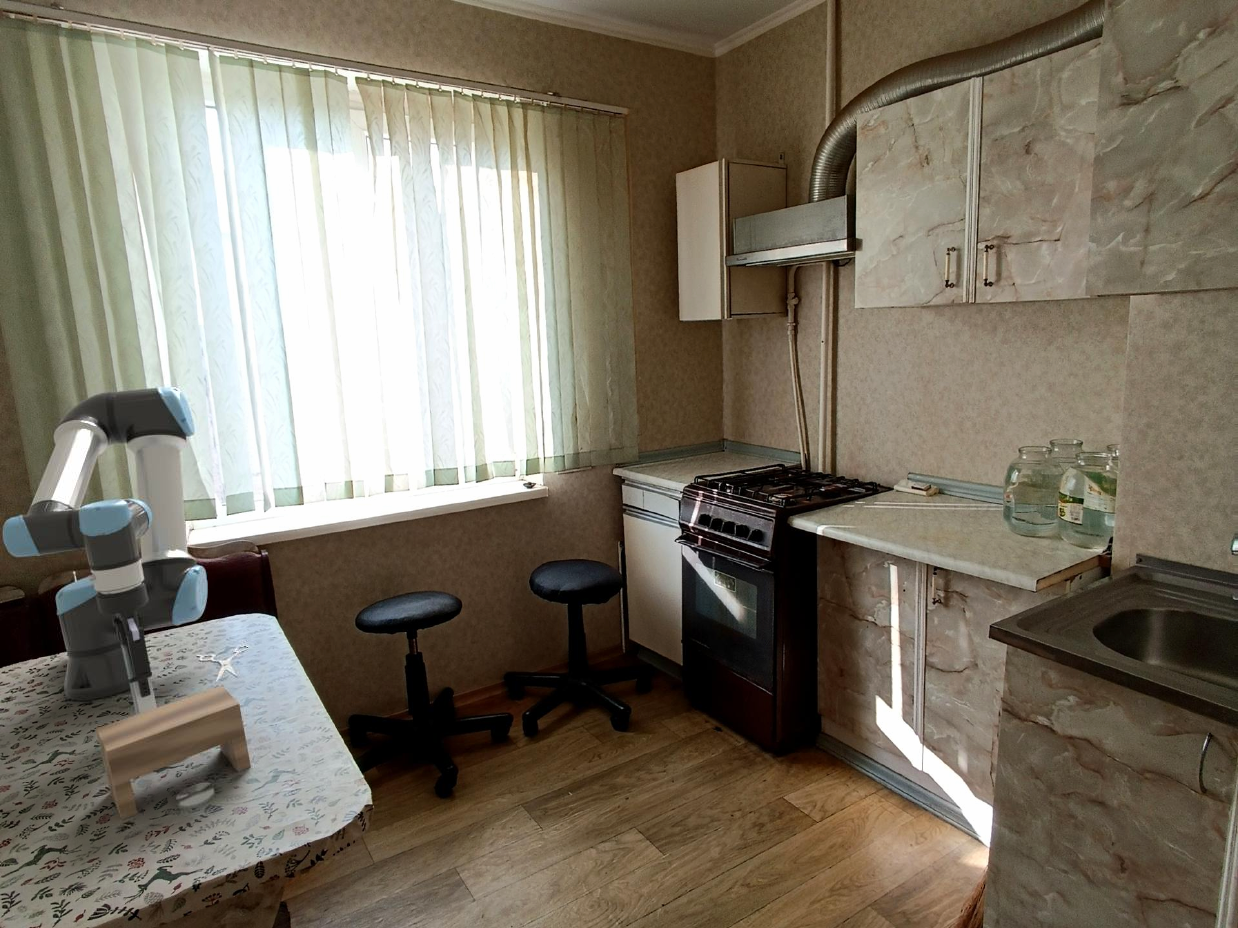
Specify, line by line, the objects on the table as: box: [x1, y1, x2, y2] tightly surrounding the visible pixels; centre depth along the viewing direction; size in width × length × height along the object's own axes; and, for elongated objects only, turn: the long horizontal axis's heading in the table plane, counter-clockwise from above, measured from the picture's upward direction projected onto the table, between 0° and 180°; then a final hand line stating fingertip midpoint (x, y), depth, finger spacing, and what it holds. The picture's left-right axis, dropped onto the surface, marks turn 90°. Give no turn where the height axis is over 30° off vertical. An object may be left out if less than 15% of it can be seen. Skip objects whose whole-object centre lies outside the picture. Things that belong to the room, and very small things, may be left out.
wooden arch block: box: [95, 685, 252, 821], centre depth 120 cm, size 10×18×11 cm, turn 132°
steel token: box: [175, 782, 216, 810], centre depth 115 cm, size 5×5×1 cm
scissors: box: [196, 645, 250, 683], centre depth 166 cm, size 11×1×20 cm
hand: (146, 707), depth 140 cm, fingers closed on push tool, 3 cm apart
